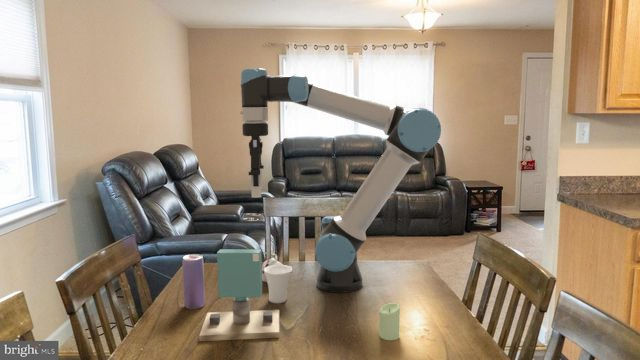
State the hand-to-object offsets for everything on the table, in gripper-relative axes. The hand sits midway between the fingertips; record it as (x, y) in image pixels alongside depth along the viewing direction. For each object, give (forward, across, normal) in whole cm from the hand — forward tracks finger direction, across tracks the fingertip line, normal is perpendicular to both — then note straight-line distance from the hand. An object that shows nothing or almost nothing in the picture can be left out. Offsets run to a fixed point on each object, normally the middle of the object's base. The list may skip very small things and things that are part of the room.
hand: (257, 193), depth 145 cm
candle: (+33, +30, +34) cm, 56 cm away
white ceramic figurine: (+33, -13, +4) cm, 36 cm away
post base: (+33, +21, -4) cm, 39 cm away
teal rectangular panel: (+25, +21, -4) cm, 33 cm away
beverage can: (+33, +4, -19) cm, 38 cm away
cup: (+33, +3, +6) cm, 34 cm away
